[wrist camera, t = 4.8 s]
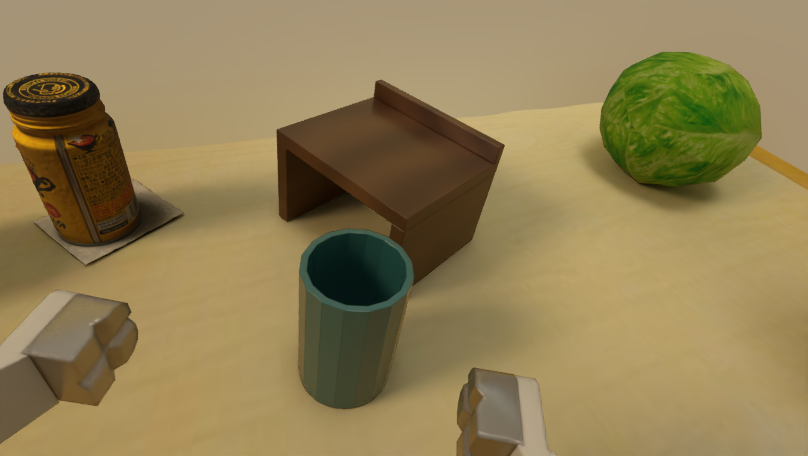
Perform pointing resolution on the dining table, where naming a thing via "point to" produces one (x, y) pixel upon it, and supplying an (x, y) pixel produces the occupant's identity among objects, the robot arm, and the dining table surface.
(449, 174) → the shelf
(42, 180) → the condiment
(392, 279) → the cup
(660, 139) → the lettuce
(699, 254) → the dining table surface
